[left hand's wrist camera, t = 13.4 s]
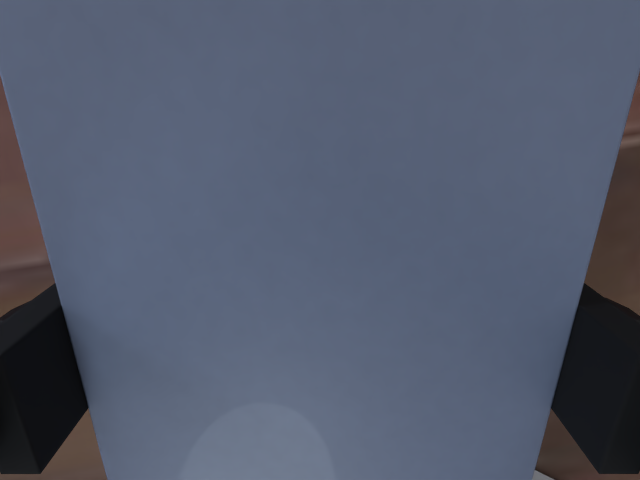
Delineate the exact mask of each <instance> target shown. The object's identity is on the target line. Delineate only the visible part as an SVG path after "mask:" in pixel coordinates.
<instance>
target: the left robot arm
mask: <svg viewBox="0 0 640 480" xmlns="http://www.w3.org/2000/svg"><path fill="white" fill-rule="evenodd" d="M551 408H552V410H553V411H554V413H555V414H556V415H557V417H558V418H559V419H560V421H561V422H562V424H563V425H564V426H565V428H566V429H567V430H568V432H569V433H570V434H571V436H572V437H573V439H574V440H575V441H576V443H577V444H578V445H579V447H580V448H581V450H582V451H583V452H584V454H585V455H586V456H587V458H588V459H589V461H590V462H591V463H592V465H593V466H594V467H595V469H596V470H597V472H598V473H599V474H638V473H639V471H640V316H639V315H637V314H636V313H635V312H633V311H632V310H630V309H629V308H627V307H625V306H623V305H620V304H618V303H616V302H614V301H612V300H609V299H607V298H604V297H603V296H601V295H600V294H598V293H597V292H596V291H594V290H593V289H592V288H590V287H589V286H587V285H586V284H585V283H584V284H583V288H582V292H581V296H580V300H579V303H578V307H577V311H576V315H575V319H574V322H573V326H572V330H571V334H570V338H569V341H568V345H567V349H566V353H565V357H564V360H563V364H562V368H561V372H560V376H559V379H558V383H557V387H556V391H555V395H554V398H553V402H552V406H551ZM87 409H88V404H87V400H86V396H85V392H84V389H83V385H82V381H81V377H80V374H79V370H78V366H77V362H76V358H75V355H74V351H73V347H72V343H71V340H70V336H69V332H68V328H67V325H66V321H65V317H64V313H63V309H62V306H61V302H60V298H59V294H58V291H57V287H56V283H55V284H53V285H52V286H51V287H49V288H48V289H47V290H45V291H44V292H42V293H41V294H40V295H38V296H37V297H36V298H34V299H33V300H31V301H29V302H27V303H25V304H23V305H21V306H18V307H16V308H14V309H12V310H10V311H9V312H8V313H6V314H5V315H3V316H2V317H1V318H0V473H1V474H41V472H42V471H43V470H44V468H45V467H46V465H47V464H48V463H49V461H50V460H51V459H52V457H53V456H54V454H55V453H56V452H57V450H58V449H59V448H60V446H61V445H62V443H63V442H64V441H65V439H66V438H67V437H68V435H69V434H70V433H71V431H72V430H73V428H74V427H75V426H76V424H77V423H78V422H79V420H80V419H81V417H82V416H83V415H84V413H85V412H86V411H87Z"/></svg>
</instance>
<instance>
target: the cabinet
mask: <svg viewBox="0 0 640 480" xmlns="http://www.w3.org/2000/svg"><path fill="white" fill-rule="evenodd" d="M639 71H640V0H0V75H1V79H2V83H3V87H4V90H5V94H6V98H7V102H8V105H9V109H10V113H11V117H12V121H13V124H14V128H15V132H16V136H17V139H18V143H19V147H20V151H21V155H22V158H23V162H24V166H25V170H26V173H27V177H28V181H29V185H30V189H31V192H32V196H33V200H34V204H35V207H36V211H37V215H38V219H39V223H40V226H41V230H42V234H43V238H44V241H45V245H46V249H47V253H48V257H49V260H50V264H51V268H52V272H53V275H54V279H55V283H56V287H57V291H58V294H59V298H60V302H61V306H62V309H63V313H64V317H65V321H66V325H67V328H68V332H69V336H70V340H71V343H72V347H73V351H74V355H75V358H76V362H77V366H78V370H79V374H80V377H81V381H82V385H83V389H84V392H85V396H86V400H87V404H88V408H89V411H90V415H91V419H92V423H93V426H94V430H95V434H96V438H97V442H98V445H99V449H100V453H101V457H102V460H103V464H104V468H105V472H106V476H107V479H108V480H532V478H533V474H534V471H535V467H536V463H537V459H538V455H539V452H540V448H541V444H542V440H543V436H544V433H545V429H546V425H547V421H548V417H549V414H550V410H551V406H552V402H553V398H554V395H555V391H556V387H557V383H558V379H559V376H560V372H561V368H562V364H563V360H564V357H565V353H566V349H567V345H568V341H569V338H570V334H571V330H572V326H573V322H574V319H575V315H576V311H577V307H578V303H579V300H580V296H581V292H582V288H583V284H584V281H585V277H586V273H587V269H588V265H589V262H590V258H591V254H592V250H593V246H594V243H595V239H596V235H597V231H598V227H599V224H600V220H601V216H602V212H603V208H604V204H605V201H606V197H607V193H608V189H609V185H610V182H611V178H612V174H613V170H614V166H615V163H616V159H617V155H618V151H619V147H620V144H621V140H622V136H623V132H624V128H625V125H626V121H627V117H628V113H629V109H630V106H631V102H632V98H633V94H634V90H635V87H636V83H637V79H638V75H639Z"/></svg>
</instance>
